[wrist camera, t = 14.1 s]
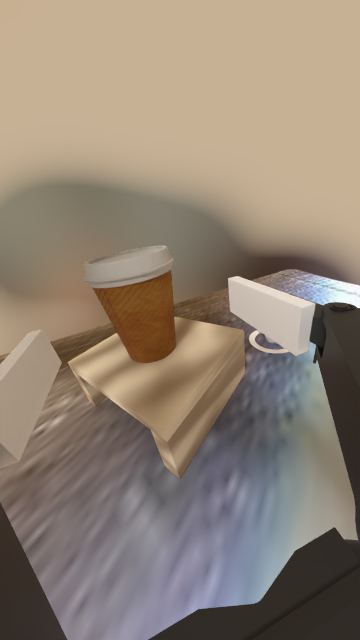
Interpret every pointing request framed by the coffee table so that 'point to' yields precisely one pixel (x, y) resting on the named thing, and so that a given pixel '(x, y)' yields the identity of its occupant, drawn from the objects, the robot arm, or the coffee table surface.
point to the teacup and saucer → (254, 344)
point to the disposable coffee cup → (137, 299)
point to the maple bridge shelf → (169, 385)
